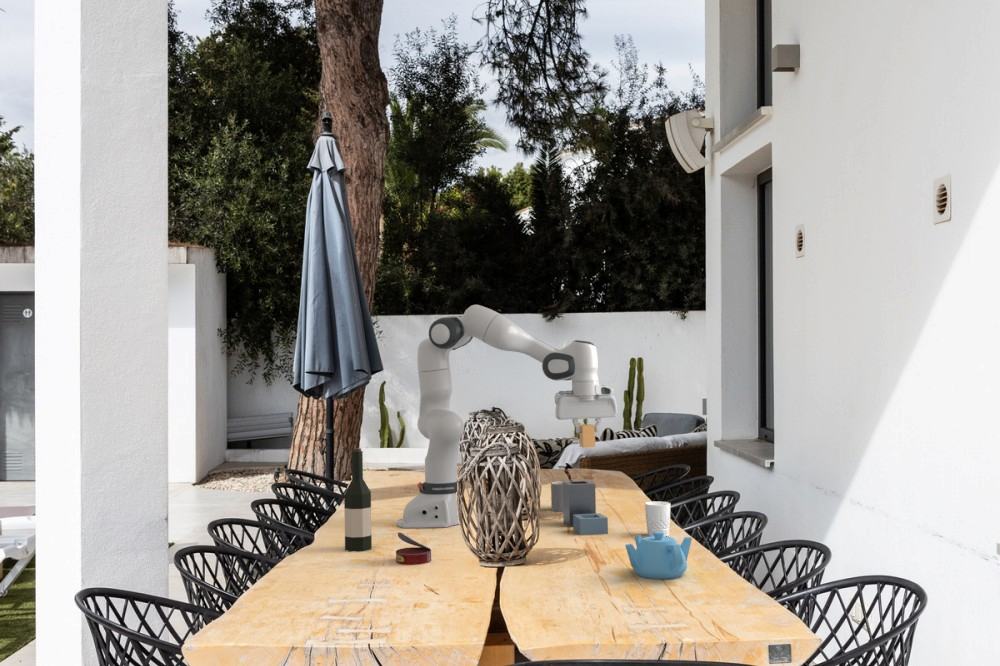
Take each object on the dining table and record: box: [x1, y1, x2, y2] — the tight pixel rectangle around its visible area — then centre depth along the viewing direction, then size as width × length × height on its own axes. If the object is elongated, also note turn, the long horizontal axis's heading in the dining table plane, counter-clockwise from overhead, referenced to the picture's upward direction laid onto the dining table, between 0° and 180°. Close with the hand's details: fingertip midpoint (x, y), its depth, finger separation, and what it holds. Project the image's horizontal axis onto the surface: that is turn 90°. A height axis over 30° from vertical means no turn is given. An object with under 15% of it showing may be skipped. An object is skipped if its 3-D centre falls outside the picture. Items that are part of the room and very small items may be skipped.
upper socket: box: [562, 480, 597, 528], centre depth 312 cm, size 9×9×14 cm
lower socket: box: [572, 512, 609, 536], centre depth 298 cm, size 9×9×5 cm
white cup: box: [644, 500, 671, 537], centre depth 290 cm, size 8×8×10 cm
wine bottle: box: [343, 447, 373, 552], centre depth 278 cm, size 8×8×30 cm
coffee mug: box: [550, 480, 564, 513], centre depth 342 cm, size 13×10×10 cm
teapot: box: [625, 532, 693, 580], centre depth 239 cm, size 15×15×11 cm
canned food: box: [395, 532, 432, 566], centre depth 260 cm, size 11×10×10 cm
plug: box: [578, 424, 596, 448], centre depth 301 cm, size 4×4×7 cm
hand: (587, 432), depth 301 cm, fingers closed on plug, 4 cm apart
